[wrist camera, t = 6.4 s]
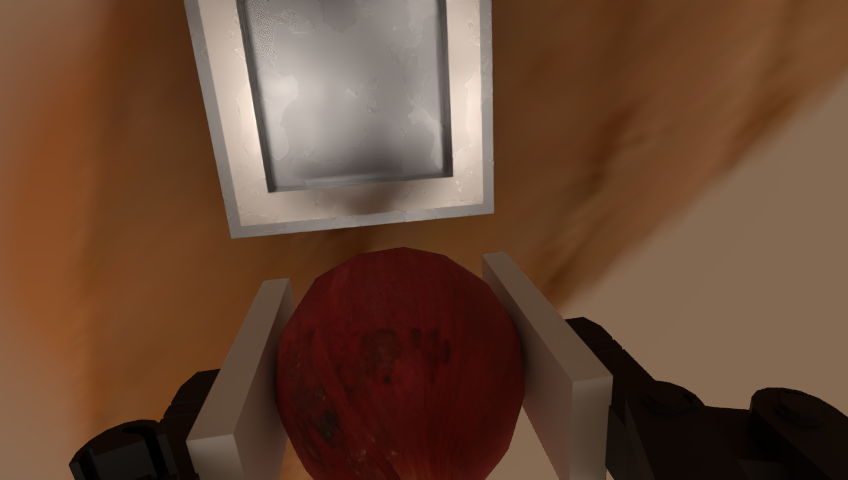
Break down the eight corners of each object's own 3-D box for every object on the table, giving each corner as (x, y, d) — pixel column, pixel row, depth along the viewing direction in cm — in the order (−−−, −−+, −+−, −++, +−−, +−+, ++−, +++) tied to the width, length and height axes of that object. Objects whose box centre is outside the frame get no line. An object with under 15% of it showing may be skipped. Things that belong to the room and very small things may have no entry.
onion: (262, 332, 14) (159, 603, 7) (358, 176, 13) (357, 300, 6) (417, 404, 16) (469, 686, 9) (515, 271, 15) (673, 463, 7)
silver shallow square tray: (191, -55, 22) (153, -89, 18) (474, -62, 24) (500, -95, 20) (244, 223, 27) (223, 247, 22) (480, 201, 28) (502, 220, 24)
